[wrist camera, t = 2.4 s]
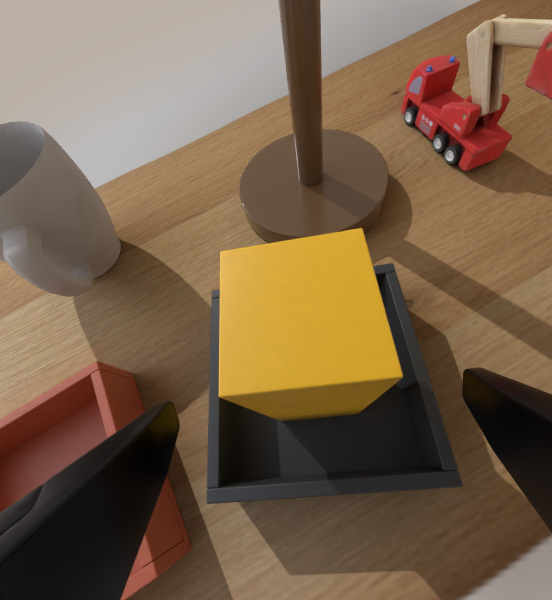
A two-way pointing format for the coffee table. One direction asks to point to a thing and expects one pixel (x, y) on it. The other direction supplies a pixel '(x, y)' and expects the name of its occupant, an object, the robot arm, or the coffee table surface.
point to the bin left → (79, 440)
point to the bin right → (333, 433)
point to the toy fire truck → (476, 90)
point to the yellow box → (304, 328)
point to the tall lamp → (311, 153)
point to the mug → (50, 214)
